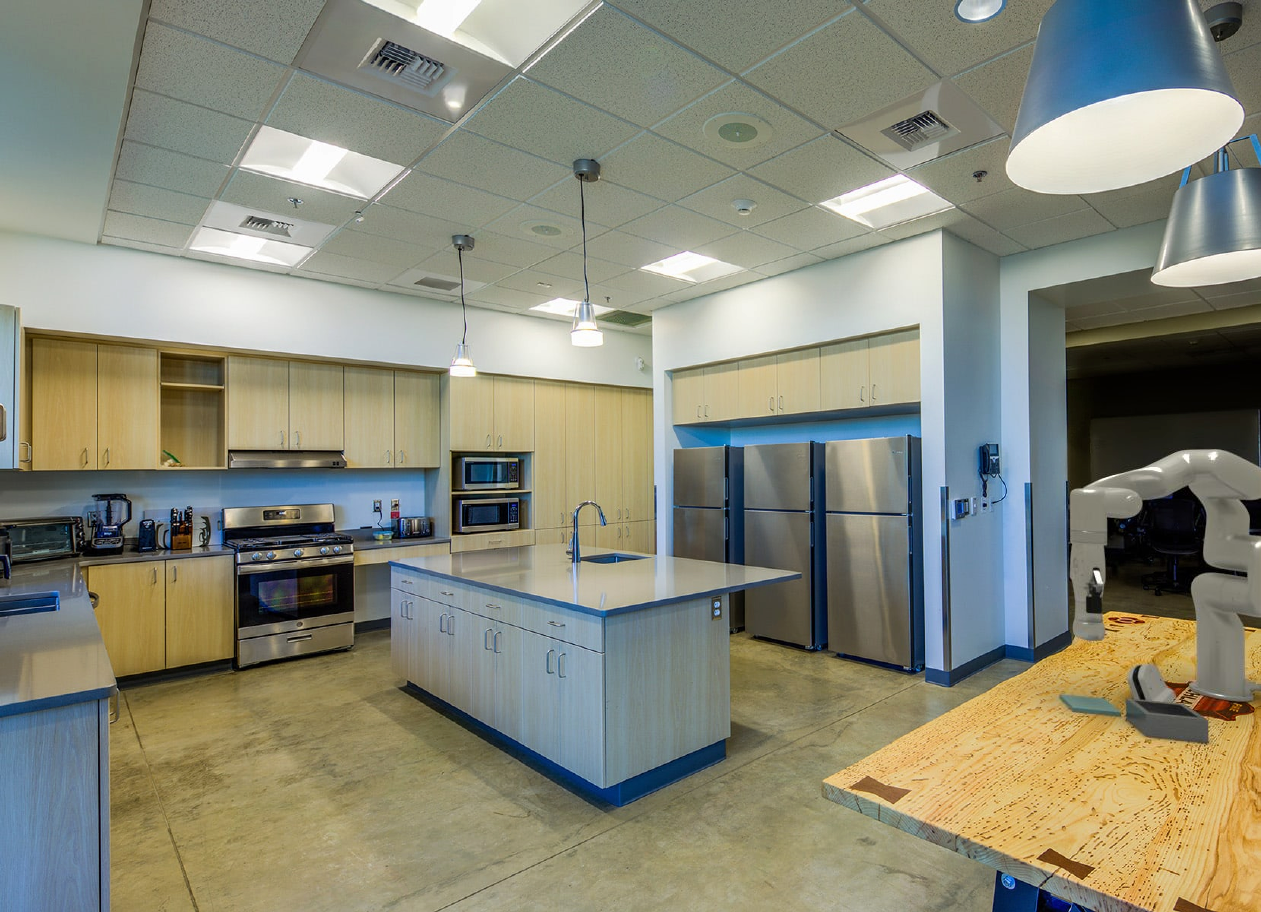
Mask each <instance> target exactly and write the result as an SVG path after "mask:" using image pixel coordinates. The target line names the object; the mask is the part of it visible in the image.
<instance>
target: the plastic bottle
mask: <svg viewBox="0 0 1261 912" xmlns="http://www.w3.org/2000/svg"><path fill="white" fill-rule="evenodd" d="M1071 581H1072V588H1073V592H1074V593H1073V594H1074V601H1075V602H1074V604H1075V606H1074V607H1075V608H1074V619H1073V622H1072V623H1073V624H1072V633H1073V634H1074V636H1075V637H1076V638H1078V639H1080V640H1083V641H1088V642H1099V641H1103V640H1104V639H1105V637H1106V627H1105V624H1104V617H1103V612H1102V613H1101V614H1092V613H1087V612H1086V596H1088V594H1087V587H1086V585H1087V583H1086V584H1085V585H1082V584H1080V583H1078V578H1077V576H1076V575H1074V576H1073V579H1071ZM1089 584H1095V581H1090V582H1089ZM1104 587H1105V585H1104V586H1103V589H1102V590H1103V591H1102V597H1103V596H1104V595H1103V594H1104V589H1105V588H1104ZM1092 588H1093V587H1091V590H1092Z"/></svg>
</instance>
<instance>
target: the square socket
mask: <svg viewBox="0 0 1261 912" xmlns="http://www.w3.org/2000/svg"><path fill="white" fill-rule="evenodd" d="M1125 720H1126V721H1127V722H1128V723H1129V724H1130V725H1131V726H1133V727H1134V728H1135V729H1137V730H1138V732H1140V733H1141V734H1142V735H1143V736H1145V737H1146V738H1154V739H1162V740H1163V739H1164V740H1174V741H1181V742H1191V743H1199V744H1200V743H1202V744H1209V719H1207V718H1206V717H1204V716H1203V715H1201V714H1200V713H1198V712H1197V711H1195V710H1194V709H1192V708H1191V707H1190V706H1188V705H1186V704H1185V703H1181V702H1180V703H1179V702H1172V703H1171V702H1160V701H1150V700H1139V699H1134V698H1128V697H1127V698H1126V697H1125Z"/></svg>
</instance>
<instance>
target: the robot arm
mask: <svg viewBox="0 0 1261 912" xmlns="http://www.w3.org/2000/svg"><path fill="white" fill-rule="evenodd" d="M1187 486H1188V488H1189V489H1190V491H1191V492H1192V493H1193V494H1194V495H1195V496H1196V497H1197V498H1198V500H1199V501H1200V502H1201V504H1202V505H1203V507H1204V510H1205V513H1206V525H1205V532H1204V534H1205V535H1204V540H1203V541H1204V542H1203V552H1202V554H1203V555H1202V556H1203V560H1204V561H1205V562H1206V564H1208V565H1209V566H1211V567H1215V568H1218V569H1224V570H1228V571H1236V572H1243V573H1244V572H1245V573H1246V574H1247V577H1245V576H1238V575H1233V574H1225V573H1218V572H1204V573H1201V574H1199V575H1198V576H1195V577H1194V579H1193V581H1192V582H1191V587H1190V592H1191V596H1192V600H1193V604H1194V608H1195V619H1196V681H1192V682H1190V683H1189V684H1188V685H1189V687H1188V688H1189V690H1191V691H1192V692H1195V693H1196V694H1200V695H1202V696H1206V697H1208V698H1213V699H1217V700H1223V701H1231V702H1245V703H1246V702H1251V701H1253V700H1254V694H1253V692H1255V691H1258V692H1261V683H1257V682H1256V681H1250V680H1249V679H1246V642H1245V641H1246V640H1245V639H1246V634H1245V633H1246V631H1245V627H1244V624H1243V622H1242V620H1241V619H1240V617H1239V616H1238V614H1239V615H1245V616H1247V617H1248V616H1249V617H1254V618H1261V536H1260V535H1251V534H1250V520H1251V519H1250V514H1249V512H1248V509H1247V508H1246V506H1245V505H1244V504H1243V502H1241V501H1242V500H1245V501H1253V500H1254V501H1255V500H1259V499H1261V467H1260V466H1258V465H1256V464H1254V463H1252V462H1250V461H1249V460H1247V459H1244V458H1242V457H1241V456H1238V455H1237V454H1234V453H1232V452H1230V451H1227V450H1222V449H1215V448H1214V449H1186V450H1185V449H1184V450H1179V451H1176V452H1174V453H1172V454H1169V455H1167V456H1165V457H1162V458H1161V459H1159V460H1157V461H1155V462H1153V463H1151V464H1148V465H1146V466H1144V467H1142V468H1138V469H1133V470H1129V471H1125V472H1123V473H1117V474H1114V475H1110V476H1107V477H1104V478H1100V479H1098V480H1096V481H1094V482H1092V483H1089V484H1088V485H1086V486H1084V487H1083V488H1075V489H1073V490H1071V491H1070V493H1069V494H1070V496H1069V505H1070V506H1069V512H1070V513H1069V515H1070V516H1069V517H1070V519H1069V522H1070V524H1069V525H1070V527H1069V528H1070V529H1069V530H1070V532H1069V533H1070V534H1069V535H1070V537H1069V538H1070V539H1069V540H1070V542H1069V543H1070V544H1072V545H1071V551H1070V564H1069V565H1070V566H1069V567H1070V568H1069V579H1071V580H1072V579H1073V576H1074V575H1076V576H1077V578H1078V583H1080V584H1082V585H1085V584H1086V583H1087V585H1086V587H1087V594H1088V596H1086V612H1087V613H1092V614H1101V613H1102V614H1103V596H1102V591H1103V592H1104V589H1103V586H1104V587H1105V584H1106V557H1105V547H1104V546H1107V545H1108V519H1107V518H1114V519H1128V518H1132V517H1135V516H1136V515H1138V514H1139V513H1140V511H1141V510H1142V508H1143V501H1145V500H1153V499H1160V498H1165V497H1167V496H1169V495H1171V494H1173V493H1174V492H1177V491H1178V490H1181V489H1182V488H1185V487H1187ZM1090 581H1095V584H1089V582H1090ZM1091 587H1093V588H1092V590H1091ZM1102 589H1103V590H1102Z"/></svg>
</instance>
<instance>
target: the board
mask: <svg viewBox="0 0 1261 912" xmlns="http://www.w3.org/2000/svg"><path fill="white" fill-rule="evenodd" d="M1058 695H1059V699H1060V700H1061V701H1062V702H1063V703H1064V704H1065V705H1066V706H1067V708H1069V709H1070V710H1071V711H1072V712H1074V713H1080V714H1081V713H1082V714H1091V715H1092V714H1093V715H1100V716H1102V715H1103V716H1111V717H1120V718H1121V717H1122V712H1121V711H1120V710H1119V708H1117V707H1115V705H1113V704H1112V703H1111V702H1110V701H1108V700H1107V699H1106V698H1103V697H1097V696H1096V697H1094V696H1093V697H1091V696H1084V695H1083V696H1082V695H1073V694H1064V693H1063V694H1062V693H1061V694H1060V693H1059V694H1058Z"/></svg>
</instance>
